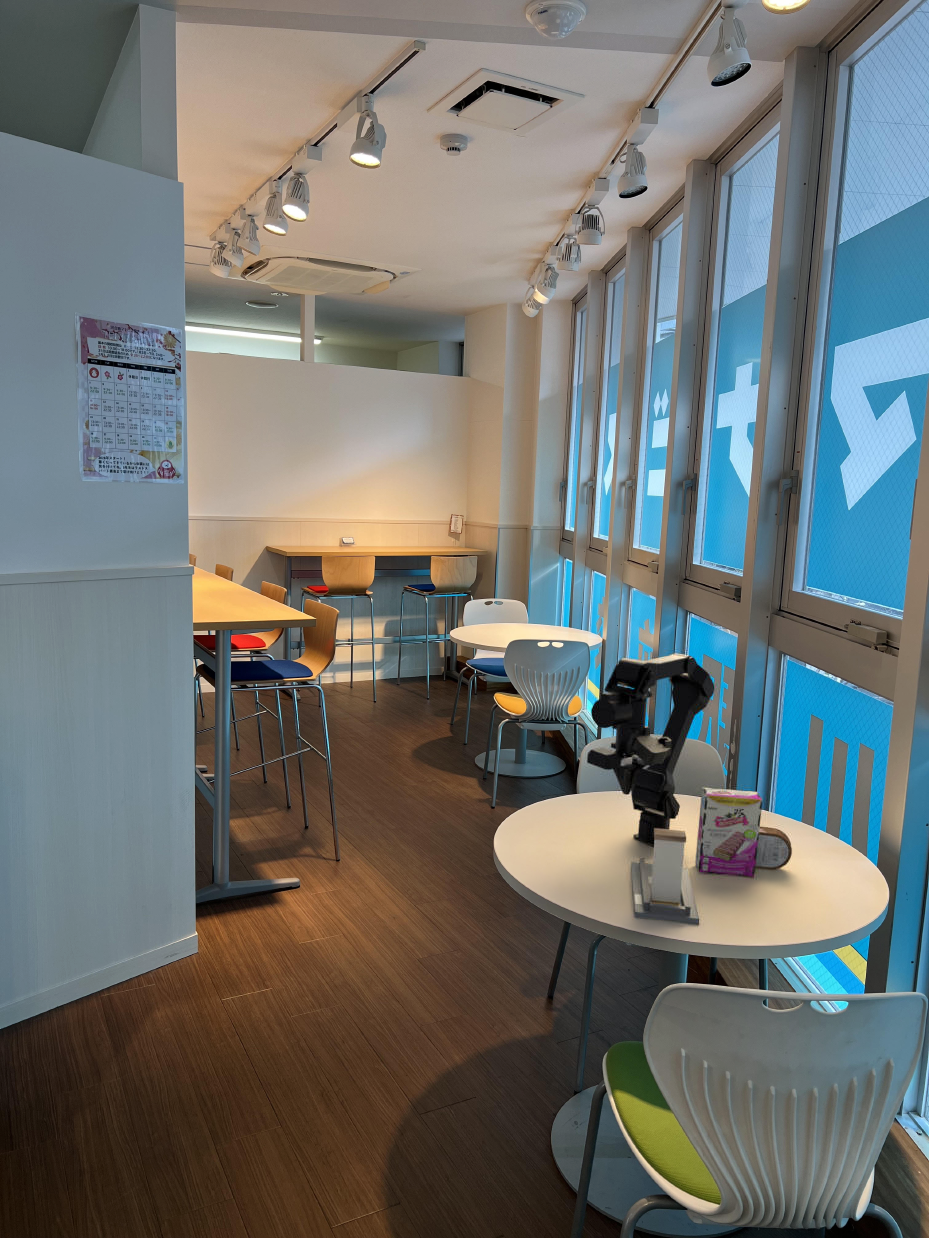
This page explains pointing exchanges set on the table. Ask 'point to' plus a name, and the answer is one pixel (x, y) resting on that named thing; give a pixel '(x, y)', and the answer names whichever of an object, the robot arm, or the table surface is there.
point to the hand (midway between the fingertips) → (626, 793)
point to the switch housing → (661, 909)
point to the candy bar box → (728, 832)
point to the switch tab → (667, 865)
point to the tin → (772, 849)
